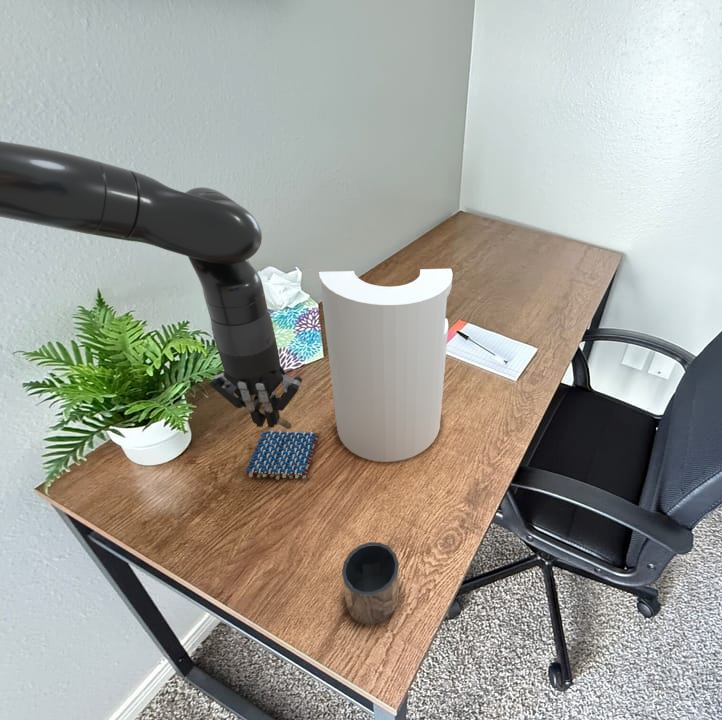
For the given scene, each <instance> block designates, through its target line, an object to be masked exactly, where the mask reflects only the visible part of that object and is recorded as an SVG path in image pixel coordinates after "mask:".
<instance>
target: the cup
mask: <svg viewBox="0 0 722 720" xmlns="http://www.w3.org/2000/svg"><path fill="white" fill-rule="evenodd" d="M399 573H400V564H399V560H398V555H397V553H396V552H395V551H394V550H393V549H392V548H391V547H390V546H389V545H387V544H384V543H382V542H376V541H375V542H373V541H369V542H365V543H363V544H360V545H358V546H357V547H355V548H353V550H350V552H349V553H348V555H347V556H346V558H345V560H344V561H343V565H342V571H341V577H342V583H343V589H344V596H345V603H346V607H347V611H348V613H349V615H350V616H351V618H352V619H353V620H354V621H356V622H358V623H359V624H363V625H367V626H368V625H369V626H371V625H377V624H379V623H382V622H384V621H385V620H387V619H388V618H389V617H390V616H391V615H392V614H393V612H394V611H395V610H396V607H397V605H398V601H399V592H400V591H399V587H400V584H399V583H400V581H399V580H400V574H399Z"/></svg>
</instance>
